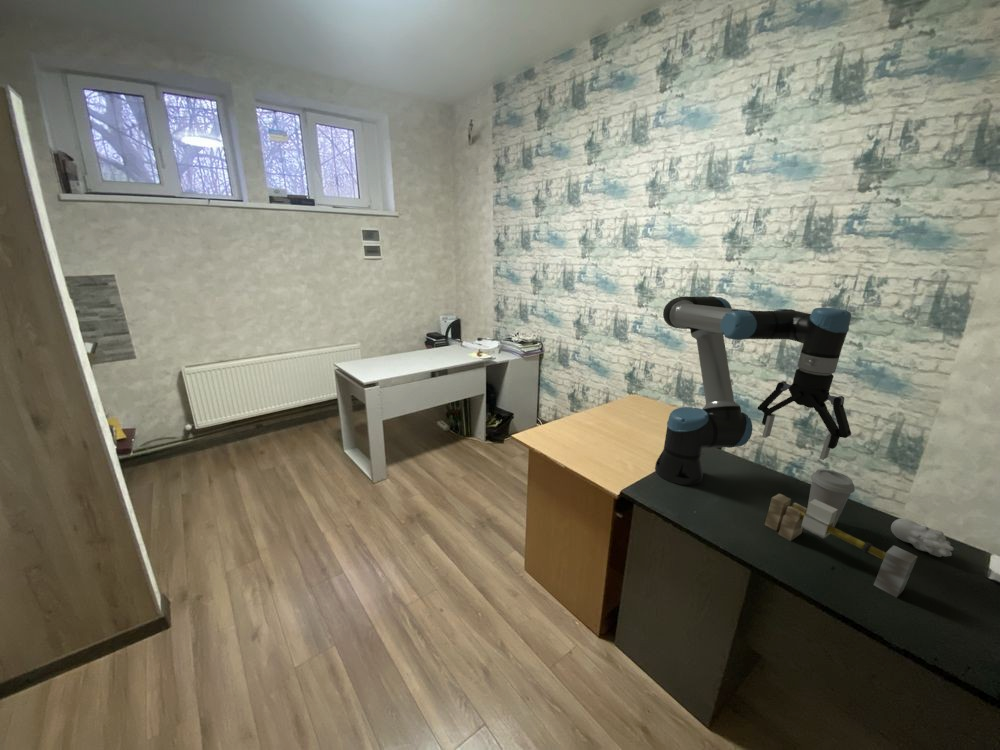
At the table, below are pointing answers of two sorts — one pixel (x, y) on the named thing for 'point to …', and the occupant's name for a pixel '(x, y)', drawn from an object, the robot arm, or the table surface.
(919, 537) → the figurine
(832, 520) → the grey stepped block
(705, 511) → the table surface
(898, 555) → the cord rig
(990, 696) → the table surface
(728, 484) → the table surface
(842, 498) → the coffee cup
